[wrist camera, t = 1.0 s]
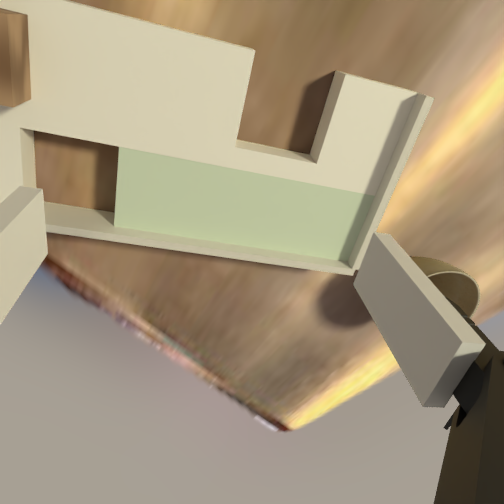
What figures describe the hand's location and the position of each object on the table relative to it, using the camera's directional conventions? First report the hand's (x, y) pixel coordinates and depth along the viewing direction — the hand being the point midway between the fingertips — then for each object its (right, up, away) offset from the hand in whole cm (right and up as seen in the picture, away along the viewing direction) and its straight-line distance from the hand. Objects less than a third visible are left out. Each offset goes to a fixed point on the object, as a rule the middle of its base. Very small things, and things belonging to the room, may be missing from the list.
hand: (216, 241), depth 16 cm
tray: (-6, +11, +21) cm, 24 cm away
